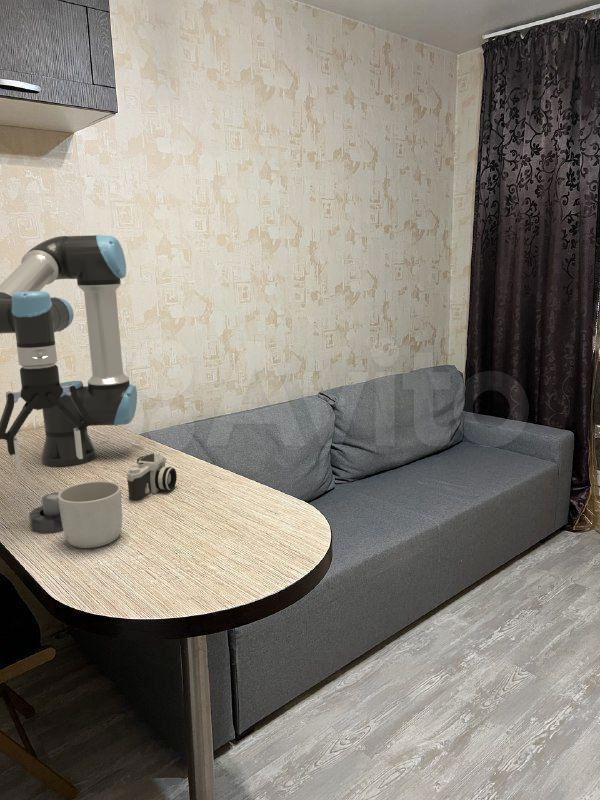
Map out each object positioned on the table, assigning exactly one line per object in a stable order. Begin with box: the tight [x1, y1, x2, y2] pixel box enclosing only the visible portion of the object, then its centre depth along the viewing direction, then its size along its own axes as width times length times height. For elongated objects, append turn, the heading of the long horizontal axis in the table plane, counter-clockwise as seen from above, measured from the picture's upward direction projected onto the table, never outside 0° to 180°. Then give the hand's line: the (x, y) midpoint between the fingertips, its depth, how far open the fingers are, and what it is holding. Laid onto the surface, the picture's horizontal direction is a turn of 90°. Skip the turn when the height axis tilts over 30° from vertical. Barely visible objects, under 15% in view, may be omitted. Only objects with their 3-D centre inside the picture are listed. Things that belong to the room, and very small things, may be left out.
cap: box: [41, 492, 60, 517], centre depth 138 cm, size 5×5×6 cm
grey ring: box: [28, 505, 64, 535], centre depth 139 cm, size 10×10×3 cm
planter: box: [58, 480, 123, 549], centre depth 129 cm, size 12×12×11 cm
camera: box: [126, 452, 178, 503], centre depth 156 cm, size 16×9×10 cm, turn 166°
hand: (49, 462), depth 136 cm, fingers open, 12 cm apart
